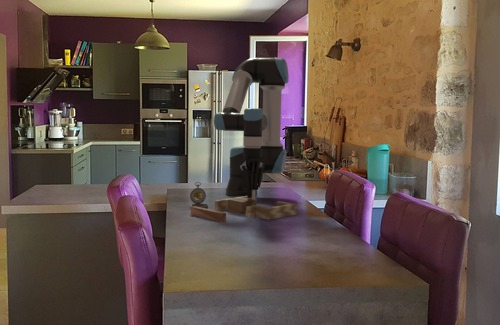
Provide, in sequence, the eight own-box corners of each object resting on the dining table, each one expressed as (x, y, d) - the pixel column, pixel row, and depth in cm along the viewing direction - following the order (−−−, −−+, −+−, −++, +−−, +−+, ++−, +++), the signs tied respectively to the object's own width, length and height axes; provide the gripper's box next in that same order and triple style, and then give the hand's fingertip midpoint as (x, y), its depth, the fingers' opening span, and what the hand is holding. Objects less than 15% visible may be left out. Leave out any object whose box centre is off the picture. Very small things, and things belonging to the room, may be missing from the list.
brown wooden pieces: (248, 204, 230) (248, 195, 230) (296, 214, 211) (296, 204, 211) (189, 214, 208) (189, 203, 208) (237, 225, 189) (237, 214, 188)
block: (242, 209, 220) (242, 197, 220) (256, 212, 214) (256, 199, 214) (228, 211, 214) (228, 199, 214) (242, 214, 209) (242, 202, 208)
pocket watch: (200, 209, 218) (200, 184, 217) (185, 206, 223) (185, 182, 222) (213, 206, 225) (213, 182, 224) (198, 204, 230) (198, 181, 229)
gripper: (257, 146, 222) (256, 202, 224) (234, 147, 213) (233, 206, 215) (270, 147, 217) (269, 205, 219) (247, 148, 208) (246, 208, 210)
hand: (251, 205), depth 217 cm, fingers closed
